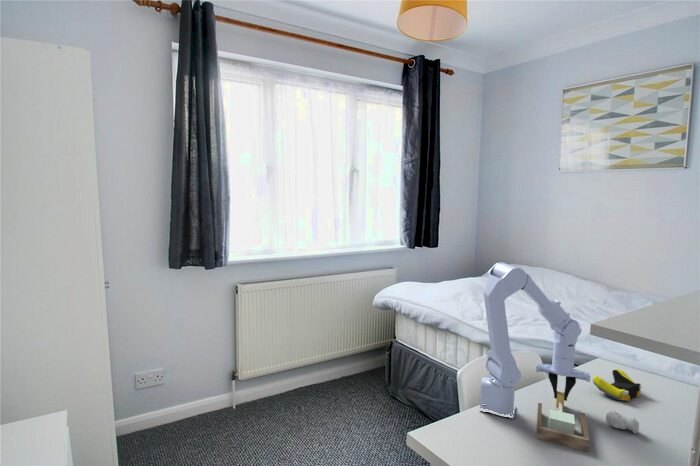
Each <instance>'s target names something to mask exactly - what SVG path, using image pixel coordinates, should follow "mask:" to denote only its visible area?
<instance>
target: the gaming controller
mask: <svg viewBox="0 0 700 466" xmlns="http://www.w3.org/2000/svg"><path fill="white" fill-rule="evenodd" d="M611 372H612V373H611V374H612V378H613V381H614V382H612V383H609V382H607V381H606V380H605V379H603V378H602V377H600V376H598V375H594V376H593V377H592V383H593V384H594V386H595V387H597V389H598V390H599V391H600V392H602V393H603V394H606V395H608V396H610V397H611V398H612V399H614V400H615V401H625V402H627V401H628V402H629V401H631V400H633V399H635V398H639V397H640V396H641V389H642V387H643V384H641V383H639V382H638V383H637V382H634V381H633V380H632V379H631V378H630V376H628V375H627V374H626V373H625V372H624V371H623V370H621V369H619V368H615V369H613V370H612V371H611Z"/></svg>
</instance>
